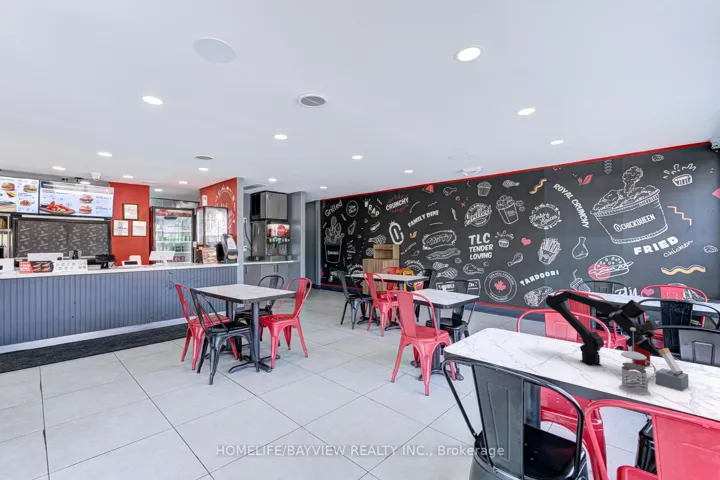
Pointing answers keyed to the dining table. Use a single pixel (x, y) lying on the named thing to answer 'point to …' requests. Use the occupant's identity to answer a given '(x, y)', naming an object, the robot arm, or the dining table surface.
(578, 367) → the dining table surface
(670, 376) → the switch box
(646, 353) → the beverage can
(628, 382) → the french press
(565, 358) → the dining table surface
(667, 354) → the lever
